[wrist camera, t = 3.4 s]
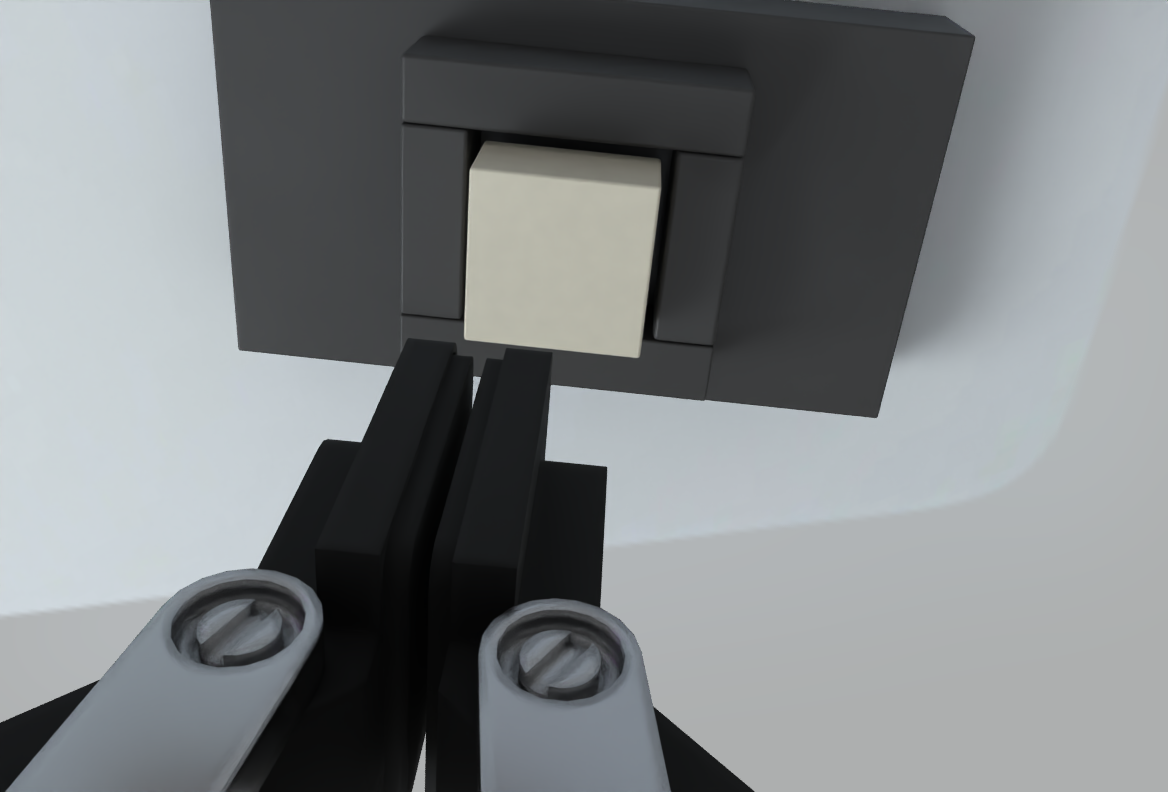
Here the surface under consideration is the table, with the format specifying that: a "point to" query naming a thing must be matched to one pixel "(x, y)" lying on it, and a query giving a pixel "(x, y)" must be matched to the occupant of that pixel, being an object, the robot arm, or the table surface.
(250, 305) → the key block
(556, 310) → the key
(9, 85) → the table surface
